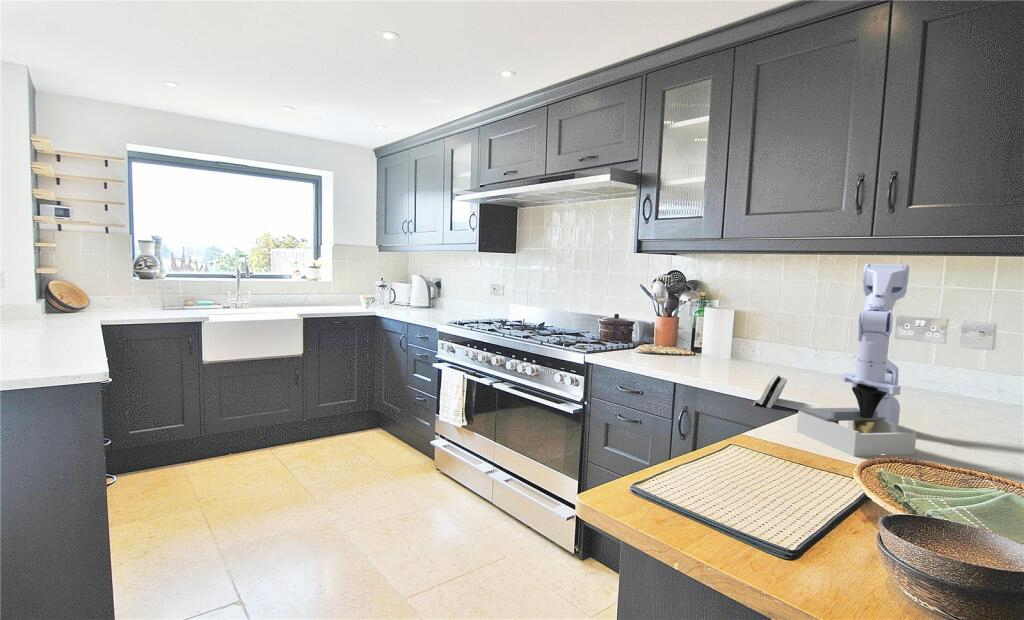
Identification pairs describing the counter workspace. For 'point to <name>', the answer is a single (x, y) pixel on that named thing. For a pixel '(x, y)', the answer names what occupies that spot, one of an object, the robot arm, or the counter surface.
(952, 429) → the counter surface
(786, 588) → the counter surface
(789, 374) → the counter surface
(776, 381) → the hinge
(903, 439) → the box
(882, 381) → the robot arm
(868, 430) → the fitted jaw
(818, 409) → the lid
